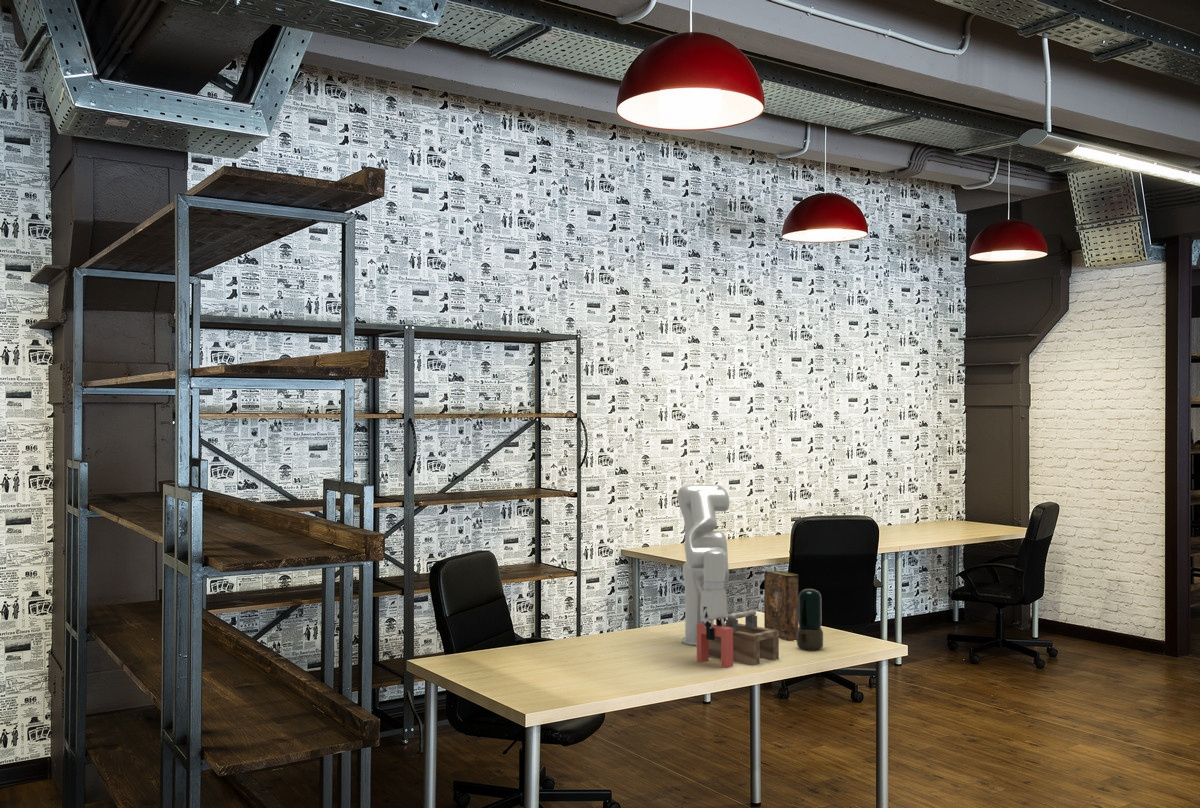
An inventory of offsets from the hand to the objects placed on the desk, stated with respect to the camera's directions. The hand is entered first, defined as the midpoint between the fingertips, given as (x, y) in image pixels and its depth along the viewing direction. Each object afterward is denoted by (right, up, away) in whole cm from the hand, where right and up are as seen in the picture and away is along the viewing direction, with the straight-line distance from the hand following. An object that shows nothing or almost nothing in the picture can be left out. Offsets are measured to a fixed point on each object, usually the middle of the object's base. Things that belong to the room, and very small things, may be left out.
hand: (714, 638), depth 347 cm
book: (+32, -10, +45) cm, 56 cm away
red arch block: (0, -9, 0) cm, 9 cm away
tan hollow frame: (+11, -9, +10) cm, 17 cm away
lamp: (+38, -10, +23) cm, 46 cm away
